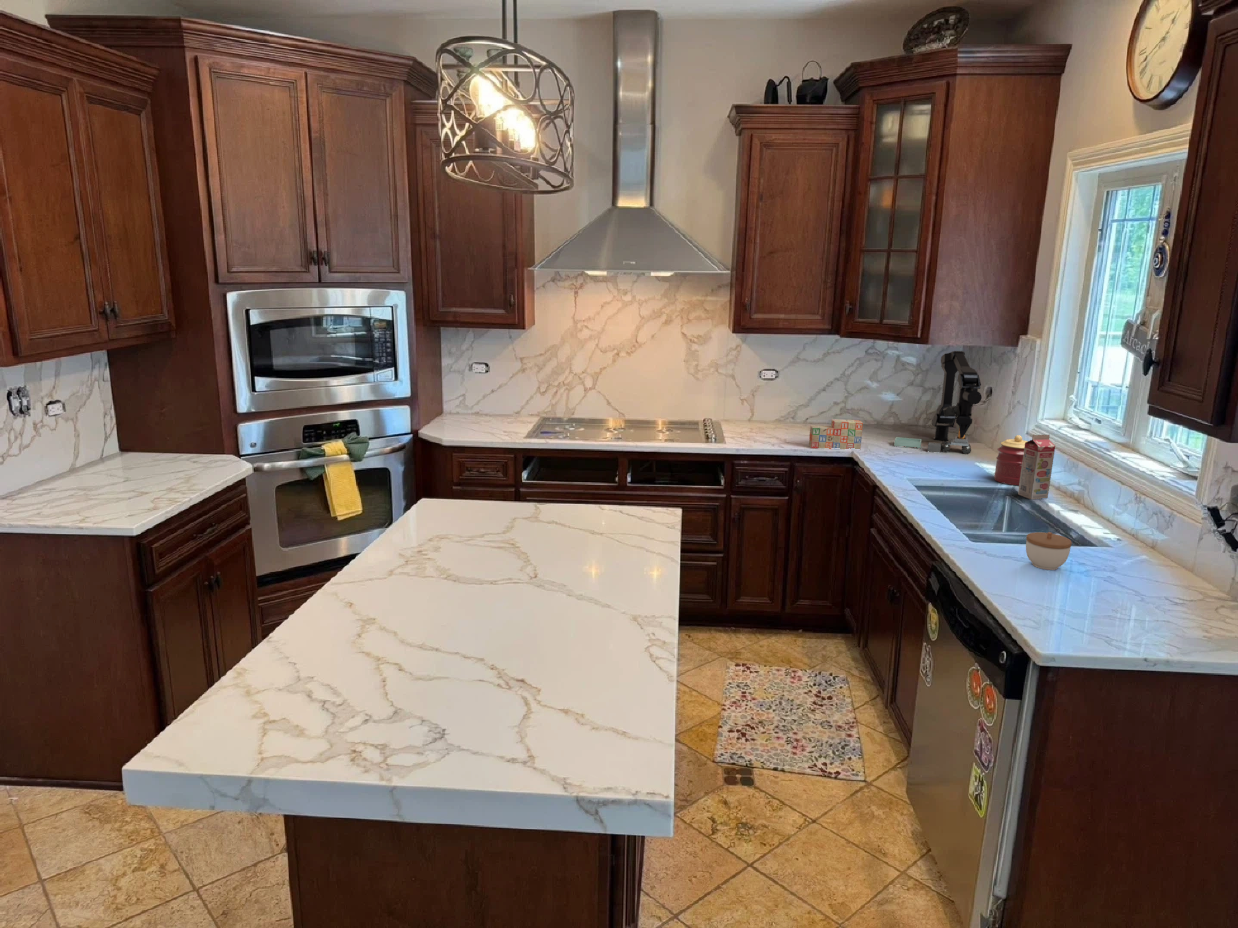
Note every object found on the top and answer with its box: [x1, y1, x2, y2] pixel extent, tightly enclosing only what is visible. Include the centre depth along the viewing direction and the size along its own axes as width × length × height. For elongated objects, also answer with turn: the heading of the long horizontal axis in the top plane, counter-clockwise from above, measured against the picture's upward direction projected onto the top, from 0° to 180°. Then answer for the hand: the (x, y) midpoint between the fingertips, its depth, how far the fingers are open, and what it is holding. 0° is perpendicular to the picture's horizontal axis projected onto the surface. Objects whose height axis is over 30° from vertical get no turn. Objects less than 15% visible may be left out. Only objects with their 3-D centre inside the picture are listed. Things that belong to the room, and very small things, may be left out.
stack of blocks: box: [808, 418, 864, 450], centre depth 359 cm, size 21×6×12 cm, turn 86°
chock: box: [927, 442, 942, 453], centre depth 357 cm, size 4×5×4 cm
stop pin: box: [957, 428, 966, 439], centre depth 355 cm, size 3×3×7 cm
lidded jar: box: [1025, 531, 1073, 571], centre depth 220 cm, size 11×11×9 cm
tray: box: [893, 436, 922, 449], centre depth 366 cm, size 6×11×3 cm, turn 69°
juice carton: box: [1017, 434, 1056, 500], centre depth 286 cm, size 7×7×22 cm
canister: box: [993, 434, 1029, 486], centre depth 306 cm, size 13×13×18 cm
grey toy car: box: [940, 435, 972, 455], centre depth 357 cm, size 8×12×6 cm, turn 69°
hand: (961, 436), depth 355 cm, fingers open, 5 cm apart
